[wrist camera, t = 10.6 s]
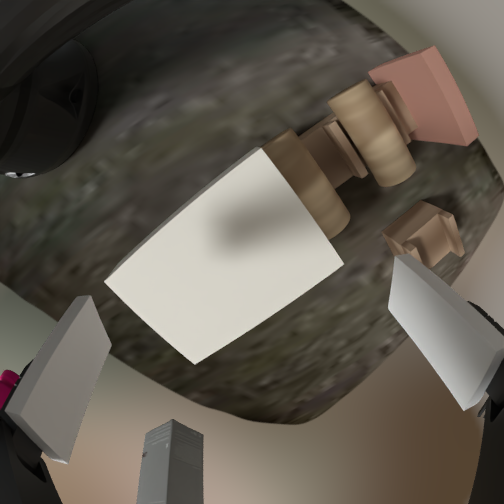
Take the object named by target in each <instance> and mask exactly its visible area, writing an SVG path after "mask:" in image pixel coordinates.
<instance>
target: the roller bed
mask: <svg viewBox="0 0 504 504" xmlns="http://www.w3.org/2000/svg"><path fill="white" fill-rule="evenodd" d="M372 88H373V89H374V91H375V92H376V94H377V96H378V97H379V99H380V100H381V102H382V104H383V105H384V107H385V108H386V110H387V112H388V114H389V115H390V117H391V119H392V120H393V122H394V124H395V126H396V127H397V129H398V131H399V133H400V135H401V137H402V138H403V140H404V142H405V144H406V145H407V144H408V143H410V142H411V140H410V138H409V136H408V134H410V133H411V132H412V131H414V130H415V129H416V128H418V126H417V124H416V122H415V120H414V119H413V117H412V115H411V113H410V111H409V109H408V108H407V106H406V104H405V102H404V101H403V99H402V97H401V96H400V94H399V92H398V91H397V89H396V87H395V86H394V84H393V83H392V81H388V82H384V83H381V84H377V85H375V86H373V87H372ZM260 148H262V150H263V151H264V152H265V154H266V155H267V156H268V157H269V159H270V160H271V161H272V163H273V164H274V165H275V167H276V168H277V169H278V171H279V172H280V173H281V175H282V176H283V177H284V179H285V180H286V181H287V183H288V184H289V185H290V187H291V188H292V189H293V191H294V192H295V194H296V195H297V196H298V198H299V199H300V201H301V202H302V203H303V205H304V206H305V207H306V209H307V210H308V212H309V213H310V215H311V216H312V217H313V219H314V220H315V222H316V223H317V225H318V226H319V227H320V229H321V230H322V232H323V233H324V235H325V236H326V238H327V239H328V240H329V239H331V238H333V237H335V236H336V235H337V234H339V233H340V232H341V231H342V230H343V229H344V228H345V227H346V226H347V224H348V222H349V220H350V213H349V212H348V210H347V208H346V207H345V205H344V204H343V202H342V200H341V199H340V197H339V196H338V194H337V193H336V191H335V190H334V189H336V188H337V187H338V186H340V185H341V184H342V183H344V182H345V181H346V180H348V179H349V178H350V177H352V176H353V175H354V176H357V177H360V178H363V177H365V176H366V175H367V174H369V173H368V172H367V170H366V168H365V166H367V164H366V162H365V160H364V159H363V157H362V155H361V154H360V152H359V150H358V149H357V147H356V145H355V144H354V142H353V141H352V139H351V138H350V136H349V134H348V133H347V131H346V130H345V128H344V127H343V125H342V124H341V122H340V121H339V119H338V118H337V116H336V115H335V113H334V112H333V113H332V114H330V115H329V116H327V117H326V118H324V119H323V120H321V121H320V122H318V123H317V124H316V125H314V126H313V127H311V128H310V129H308V130H307V131H306V132H304V133H303V134H301V135H300V136H297V135H296V133H295V132H294V131H293V129H292V128H289V129H287V130H285V131H283V132H281V133H280V134H278V135H277V136H275V137H274V138H272V139H271V140H269V141H268V142H266V143H265V144H264V145H262V146H261V147H260Z"/></svg>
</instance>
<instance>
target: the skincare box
mask: <svg viewBox="0 0 504 504" xmlns="http://www.w3.org/2000/svg"><path fill="white" fill-rule="evenodd" d="M137 504H204V503H203V434H201V433H199V432H197V431H195V430H193V429H190V428H188V427H186V426H185V425H183V424H181V423H179V422H177V421H176V420H174V419H172V420H170V421H169V422H167V423H165V424H163V425H161V426H159V427H157V428H155V429H153V430H151V431H150V432H148V433H146V436H145V442H144V448H143V455H142V463H141V470H140V478H139V486H138V495H137Z"/></svg>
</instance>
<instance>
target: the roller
mask: <svg viewBox="0 0 504 504" xmlns="http://www.w3.org/2000/svg"><path fill="white" fill-rule="evenodd" d="M327 103H328V105H329V106H330V108H331V109H332V111H333V112H334V113H335V115H336V116H337V118H338V119H339V121H340V122H341V124H342V125H343V127H344V128H345V130H346V131H347V133H348V134H349V136H350V138H351V139H352V141H353V142H354V144H355V145H356V147H357V149H358V150H359V152H360V154H361V155H362V157H363V159H364V160H365V162H366V164H367V165H368V167H369V169H370V170H371V172H372V174H373V176H374V177H375V179H376V181H377V183H378V185H379V186H382V187H389V186H393V185H396V184H399V183H401V182H403V181H405V180H406V179H408V178H409V177H410V176H411V175H412V174H413V173H414V172H415V170H416V164H415V162H414V160H413V158H412V156H411V154H410V152H409V150H408V148H407V146H406V144H405V142H404V140H403V138H402V137H401V135H400V133H399V131H398V129H397V127H396V126H395V124H394V122H393V120H392V119H391V117H390V115H389V114H388V112H387V110H386V108H385V107H384V105H383V104H382V102H381V100H380V99H379V97H378V96H377V94H376V92H375V91H374V89H373V88H372V86H371V85H370V83H369V82H368V80H367V79H364V80H362V81H360V82H357V83H355V84H353V85H352V86H350V87H348V88H346V89H344V90H343V91H341V92H339V93H338V94H336V95H335V96H333V97H332V98H331V99H329V100H328V101H327Z"/></svg>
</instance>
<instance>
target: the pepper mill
mask: <svg viewBox="0 0 504 504" xmlns="http://www.w3.org/2000/svg"><path fill="white" fill-rule="evenodd" d="M17 379H19V375H17V374H16V373H15V372H13V371H11V370H5V371H4V372H3V373H2V375H1V376H0V410H1V408H2V406H3V404H4V402H5V400H6V399H7V397H8V395H9V393H10V391H11V390H12V388H13V386H15V383H16V381H17Z"/></svg>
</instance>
